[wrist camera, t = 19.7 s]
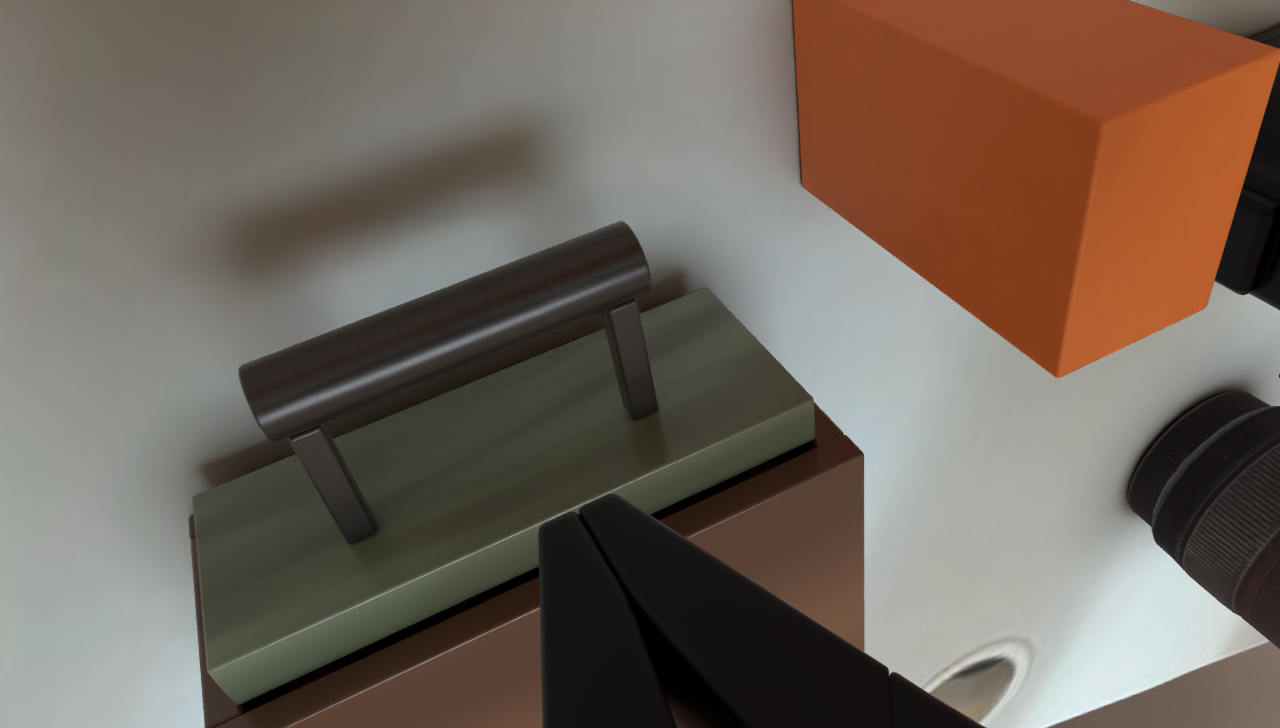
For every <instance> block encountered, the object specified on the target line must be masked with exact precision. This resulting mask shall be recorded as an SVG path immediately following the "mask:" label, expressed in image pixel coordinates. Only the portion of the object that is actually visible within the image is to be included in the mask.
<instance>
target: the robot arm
mask: <svg viewBox="0 0 1280 728" xmlns="http://www.w3.org/2000/svg"><path fill="white" fill-rule="evenodd" d="M1249 39H1250V40H1254V41H1257V42H1260V43H1263V44H1266V45H1269V46H1272V47H1275V48H1278V49H1280V26H1279V27H1277V28H1274V29H1272V30H1269V31H1267V32H1264V33H1262V34H1259V35H1257V36H1254V37H1252V38H1249ZM1214 281H1215V282H1217V283H1219V284H1221V285H1223V286H1225V287H1226V288H1228V289H1230V290H1232V291H1234V292H1235V293H1237V294H1240V295H1245V294H1248V293H1249V294H1251V295H1253V296H1255V297H1257V298H1258V299H1260V300H1262V301H1264V302H1266V303H1268V304H1269V305H1271V306H1273V307H1275V308H1277V309H1279V310H1280V63H1279V66H1278V69H1277V73H1276V76H1275V79H1274V83H1273V86H1272V89H1271V93H1270V96H1269V100H1268V103H1267V106H1266V110H1265V113H1264V116H1263V120H1262V123H1261V126H1260V130H1259V133H1258V136H1257V140H1256V143H1255V146H1254V150H1253V153H1252V156H1251V160H1250V163H1249V166H1248V170H1247V173H1246V177H1245V180H1244V183H1243V187H1242V190H1241V193H1240V197H1239V200H1238V203H1237V207H1236V210H1235V213H1234V217H1233V220H1232V223H1231V227H1230V230H1229V233H1228V237H1227V240H1226V243H1225V247H1224V250H1223V253H1222V257H1221V260H1220V264H1219V267H1218V270H1217V274H1216V277H1215V280H1214ZM1279 377H1280V374H1279ZM538 545H539V590H540V635H541V680H542V724H543V728H986V727H984V726H982V725H980V724H979V723H977V722H975V721H974V720H972V719H970V718H969V717H967V716H965V715H964V714H962V713H960V712H959V711H957V710H955V709H954V708H952V707H950V706H949V705H947V704H945V703H944V702H942V701H940V700H939V699H937V698H935V697H934V696H932V695H930V694H929V693H927V692H926V691H924V690H923V689H921V688H920V687H918V686H917V685H915V684H913V683H912V682H910V681H909V680H907V679H906V678H904V677H903V676H901V675H899V674H898V673H896V672H892V673H891V674H890V676H889V670H888V668H887V667H886V666H885V665H883V664H882V663H880V662H879V661H877V660H875V659H874V658H872V657H871V656H869V655H868V654H866V653H864V652H863V651H861V650H860V649H858V648H857V647H855V646H854V645H852V644H850V643H849V642H847V641H846V640H844V639H843V638H841V637H840V636H838V635H836V634H835V633H833V632H832V631H830V630H829V629H827V628H825V627H824V626H822V625H821V624H819V623H818V622H816V621H815V620H813V619H811V618H810V617H808V616H807V615H805V614H804V613H802V612H801V611H799V610H797V609H796V608H794V607H793V606H791V605H790V604H788V603H786V602H785V601H783V600H782V599H780V598H779V597H777V596H776V595H774V594H772V593H771V592H769V591H768V590H766V589H765V588H763V587H762V586H760V585H758V584H757V583H755V582H754V581H752V580H751V579H749V578H747V577H746V576H744V575H743V574H741V573H740V572H738V571H737V570H735V569H733V568H732V567H730V566H729V565H727V564H726V563H724V562H723V561H721V560H719V559H718V558H716V557H715V556H713V555H712V554H710V553H708V552H707V551H705V550H704V549H702V548H701V547H699V546H698V545H696V544H694V543H693V542H691V541H690V540H688V539H687V538H685V537H684V536H682V535H680V534H679V533H677V532H676V531H674V530H673V529H671V528H669V527H668V526H666V525H665V524H663V523H662V522H660V521H659V520H657V519H655V518H654V517H652V516H651V515H649V514H648V513H646V512H645V511H643V510H641V509H640V508H638V507H637V506H635V505H634V504H632V503H630V502H629V501H627V500H626V499H624V498H623V497H621V496H619V495H617V494H607V495H605V496H603V497H601V498H599V499H596V500H594V501H592V502H590V503H587V504H585V505H583V506H582V507H581V508H580V509H579V513H578V514H577V513H576V512H572V511H571V512H568V513H565V514H563V515H561V516H559V517H557V518H554V519H552V520H550V521H548V522H546V523H544V524H542V525H541V526H540V528H539V531H538Z"/></svg>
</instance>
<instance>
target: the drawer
mask: <svg viewBox="0 0 1280 728" xmlns="http://www.w3.org/2000/svg"><path fill="white" fill-rule="evenodd" d="M650 288H651V279H650V272H649V268H648V264H647V261H646V258H645V255H644V252H643V250H642V248H641V245H640V243H639V241H638V239H637V238H636V236H635V234H634V233H633V231H632V230H631V228H630V227H629V226H628V225H627V224H626V223H625V222H622V221H619V222H616V223H614V224H611V225H608V226H606V227H603V228H600V229H598V230H595V231H593V232H590V233H587V234H585V235H582V236H579V237H577V238H574V239H572V240H569V241H566V242H564V243H561V244H558V245H556V246H553V247H551V248H548V249H545V250H543V251H540V252H537V253H535V254H532V255H530V256H527V257H524V258H522V259H519V260H516V261H514V262H511V263H509V264H506V265H503V266H501V267H498V268H495V269H493V270H490V271H488V272H485V273H482V274H480V275H477V276H474V277H472V278H469V279H467V280H464V281H461V282H459V283H456V284H453V285H451V286H448V287H446V288H443V289H440V290H438V291H435V292H432V293H430V294H427V295H425V296H422V297H419V298H417V299H414V300H411V301H409V302H406V303H404V304H401V305H398V306H396V307H393V308H390V309H388V310H385V311H383V312H380V313H377V314H375V315H372V316H369V317H367V318H364V319H362V320H359V321H356V322H354V323H351V324H348V325H346V326H343V327H341V328H338V329H335V330H333V331H330V332H327V333H325V334H322V335H320V336H317V337H314V338H312V339H309V340H306V341H304V342H301V343H299V344H296V345H293V346H291V347H288V348H285V349H283V350H280V351H278V352H275V353H272V354H270V355H267V356H264V357H262V358H259V359H257V360H254V361H251V362H249V363H246V364H243V365H241V366H240V367H239V379H240V383H241V386H242V389H243V392H244V395H245V398H246V400H247V403H248V405H249V407H250V410H251V412H252V414H253V416H254V418H255V420H256V422H257V424H258V425H259V427H260V429H261V430H262V432H263V433H264V435H265V436H266V437H267V439H268V440H269V441H271V442H272V443H276V442H279V441H281V440H284V439H286V438H288V441H289V443H290V445H291V447H292V448H293V450H294V452H295V453H296V454H295V455H292V456H290V457H287V458H285V459H283V460H280V461H278V462H275V463H273V464H270V465H268V466H265V467H263V468H260V469H258V470H256V471H253V472H251V473H248V474H246V475H243V476H241V477H238V478H236V479H233V480H231V481H229V482H226V483H224V484H221V485H219V486H216V487H214V488H211V489H209V490H206V491H204V492H202V493H199V494H197V495H195V496H193V509H194V521H195V533H196V545H197V557H198V569H199V581H200V593H201V605H202V617H203V629H204V641H205V653H206V665H207V672H208V673H209V675H210V676H211V677H212V678H213V679H214V680H215V682H216V683H217V684H218V685H219V686H220V687H221V689H222V690H223V691H224V692H225V693H226V694H227V696H228V697H229V698H230V699H231V700H232V701H233V703H234V704H235V705H240V704H242V703H245V702H247V701H249V700H251V699H253V698H255V697H258V696H260V695H262V694H264V693H266V692H268V691H271V690H273V689H275V688H277V687H279V686H281V685H284V684H286V683H288V682H289V683H290V689H291V691H293V690H296V689H298V688H300V687H302V686H304V685H306V684H309V683H311V682H313V681H315V680H317V679H319V678H321V677H324V676H326V675H328V674H330V673H332V672H334V671H337V670H339V669H341V668H343V667H345V666H347V665H349V664H352V663H354V662H356V661H358V660H360V659H362V658H364V657H367V656H369V655H371V654H373V653H375V652H377V651H380V650H382V649H384V648H386V647H388V646H390V645H392V644H395V643H397V642H399V641H401V640H403V639H405V638H408V637H410V636H412V635H414V634H416V633H418V632H420V631H423V630H425V629H427V628H429V627H431V626H433V625H436V624H438V623H440V622H442V621H444V620H446V619H448V618H451V617H453V616H455V615H457V614H459V613H461V612H463V611H466V610H468V609H470V608H472V607H474V606H476V605H479V604H481V603H483V602H485V601H487V600H489V599H491V598H494V597H496V596H498V595H500V594H502V593H504V592H507V591H509V590H511V589H513V588H515V587H517V586H519V585H522V584H524V583H526V582H528V581H530V580H532V579H534V578H537V577H539V545H538V531H539V528H540V526H541V525H542V524H544V523H546V522H548V521H550V520H552V519H554V518H557V517H559V516H561V515H563V514H565V513H568V512H571V511H572V512H576V513H577V514H578V513H579V509H580V508H581V507H582V506H583V505H585V504H587V503H590V502H592V501H594V500H596V499H599V498H601V497H603V496H605V495H607V494H617V495H619V496H621V497H623V498H624V499H626V500H627V501H629V502H630V503H632V504H634V505H635V506H637V507H638V508H640V509H641V510H643V511H645V512H646V513H648V514H649V515H651V516H652V517H654V518H655V519H657V520H661V519H664V518H666V517H668V516H670V515H672V514H674V513H677V512H679V511H681V510H683V509H685V508H687V507H689V506H692V505H694V504H696V503H698V502H700V501H702V500H705V499H707V498H709V497H711V496H713V495H715V494H717V493H720V492H722V491H724V490H726V489H728V488H730V487H732V486H735V485H737V484H739V483H741V482H743V481H745V480H748V479H750V478H752V477H754V476H756V475H758V474H760V473H763V472H765V471H767V470H769V469H771V468H773V467H775V466H774V465H773V463H772V462H771V461H770V459H773V458H775V457H777V456H779V455H781V454H783V453H786V452H788V451H790V450H792V449H794V448H796V447H799V446H801V445H803V444H805V443H807V442H809V441H812V440H814V439H815V418H814V400H813V398H812V396H811V395H810V394H809V393H808V392H807V391H806V390H805V389H804V388H803V387H802V386H801V385H800V384H799V383H798V382H797V381H796V380H795V379H794V378H793V377H792V375H791V374H790V373H789V372H788V371H787V370H786V369H785V368H784V367H783V366H782V365H781V364H780V363H779V362H778V361H777V360H776V359H775V358H774V357H773V356H772V355H771V354H770V352H769V351H768V350H767V349H766V348H765V347H764V346H763V345H762V344H761V343H760V342H759V341H758V340H757V339H756V338H755V337H754V336H753V335H752V334H751V333H750V332H749V331H748V329H747V328H746V327H745V326H744V325H743V324H742V323H741V322H740V321H739V320H738V319H737V318H736V317H735V316H734V315H733V314H732V313H731V312H730V311H729V310H728V309H727V308H726V306H725V305H724V304H723V303H722V302H721V301H720V300H719V299H718V298H717V297H716V296H715V295H714V294H713V293H712V292H711V291H710V290H709V289H708V288H707V287H705V288H702V289H700V290H697V291H695V292H692V293H690V294H687V295H685V296H683V297H680V298H678V299H675V300H673V301H670V302H668V303H665V304H663V305H660V306H658V307H656V308H653V309H651V310H648V311H646V312H643V313H641V314H640V313H639V308H638V303H637V300H636V299H635V298H636V297H639V296H641V295H644V294H646V293H648V292H649V291H650ZM599 312H601V313H602V317H603V321H604V326H605V328H604V329H602V330H599V331H597V332H594V333H592V334H589V335H587V336H584V337H582V338H579V339H577V340H575V341H572V342H570V343H567V344H565V345H562V346H560V347H557V348H555V349H552V350H550V351H548V352H545V353H543V354H540V355H538V356H535V357H533V358H530V359H528V360H526V361H523V362H521V363H518V364H516V365H513V366H511V367H508V368H506V369H503V370H501V371H499V372H496V373H494V374H491V375H489V376H486V377H484V378H481V379H479V380H476V381H474V382H472V383H469V384H467V385H464V386H462V387H459V388H457V389H454V390H452V391H449V392H447V393H445V394H442V395H440V396H437V397H435V398H432V399H430V400H427V401H425V402H422V403H420V404H418V405H415V406H413V407H410V408H408V409H405V410H403V411H400V412H398V413H395V414H393V415H391V416H388V417H386V418H383V419H381V420H378V421H376V422H373V423H371V424H368V425H366V426H364V427H361V428H359V429H356V430H354V431H351V432H349V433H346V434H344V435H341V436H339V437H337V438H334V439H333V438H332V436H331V434H330V432H329V431H328V429H327V427H326V425H325V423H326V422H329V421H331V420H334V419H336V418H338V417H341V416H343V415H346V414H348V413H351V412H353V411H356V410H358V409H361V408H363V407H366V406H368V405H371V404H373V403H376V402H378V401H381V400H383V399H386V398H388V397H391V396H393V395H396V394H398V393H401V392H403V391H406V390H408V389H410V388H413V387H415V386H418V385H420V384H423V383H425V382H428V381H430V380H433V379H435V378H438V377H440V376H443V375H445V374H448V373H450V372H453V371H455V370H458V369H460V368H463V367H465V366H468V365H470V364H473V363H475V362H478V361H480V360H482V359H485V358H487V357H490V356H492V355H495V354H497V353H500V352H502V351H505V350H507V349H510V348H512V347H515V346H517V345H520V344H522V343H525V342H527V341H530V340H532V339H535V338H537V337H540V336H542V335H545V334H547V333H550V332H552V331H554V330H557V329H559V328H562V327H564V326H567V325H569V324H572V323H574V322H577V321H579V320H582V319H584V318H587V317H589V316H592V315H594V314H597V313H599Z"/></svg>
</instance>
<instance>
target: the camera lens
mask: <svg viewBox="0 0 1280 728" xmlns="http://www.w3.org/2000/svg"><path fill="white" fill-rule="evenodd" d="M1128 501H1129V504H1130V506H1131V508H1132V510H1133V511H1134V512H1135V513H1136V514H1137V515H1138V516H1140V517H1141V518H1142V519H1143V520H1144V521H1145V522H1146V523H1148V524H1149V525H1150V526H1151V527H1152V532H1153V537H1154V540H1155V542H1156V543H1157V544H1158V545H1159V546H1160V547H1161V548H1162V549H1163V550H1164V551H1165V552H1166V553H1168V554H1169V555H1170V556H1171V557H1172V558H1173V559H1174V560H1175V561H1176V562H1177V563H1178V564H1179V565H1180V566H1181V568H1182V569H1183V570H1184V571H1185V572H1186V573H1187V574H1188V575H1189V576H1190V577H1191V578H1192V579H1194V580H1195V581H1196V582H1197V583H1198V584H1199V585H1201V586H1202V587H1203V588H1204V589H1205V590H1206V591H1208V592H1209V593H1210V594H1211V595H1212V596H1213V597H1215V598H1216V599H1217V600H1218V601H1219V602H1220V603H1222V604H1223V605H1224V606H1226V607H1227V608H1228V609H1230V610H1231V611H1232V612H1233V613H1235V614H1237V615H1239V616H1241V617H1242V618H1243V619H1244V620H1245V621H1246V622H1248V623H1249V624H1250V625H1251V626H1252V627H1254V628H1255V629H1256V630H1257V631H1258V632H1260V633H1261V634H1262V635H1263V636H1265V637H1266V638H1267V639H1268V640H1269V641H1271V642H1272V643H1273V644H1274V645H1275V646H1277V647H1278V648H1279V649H1280V406H1270V405H1268V404H1266V403H1264V402H1263V401H1261V400H1259V399H1257V398H1256V397H1254V396H1252V395H1250V394H1249V393H1246V392H1242V391H1231V392H1226V393H1223V394H1220V395H1218V396H1215V397H1212V398H1210V399H1208V400H1206V401H1205V402H1203V403H1201V404H1199V405H1198V406H1196V407H1195V408H1193V409H1192V410H1191V411H1189V412H1188V413H1186V414H1185V415H1184V416H1182V417H1181V418H1180V419H1179V420H1177V421H1176V422H1175V423H1174V424H1173V425H1172V426H1171V427H1170V428H1169V429H1168V430H1167V431H1166V432H1165V433H1164V434H1163V435H1162V436H1161V437H1160V438H1159V439H1158V440H1157V441H1156V442H1155V444H1154V445H1153V446H1152V447H1151V449H1150V450H1149V451H1148V453H1147V454H1146V455H1145V457H1144V458H1143V460H1142V461H1141V462H1140V464H1139V466H1138V468H1137V470H1136V472H1135V474H1134V476H1133V478H1132V480H1131V484H1130V487H1129V493H1128Z"/></svg>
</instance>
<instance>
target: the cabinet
mask: <svg viewBox="0 0 1280 728" xmlns="http://www.w3.org/2000/svg"><path fill="white" fill-rule="evenodd" d="M814 418H815V439H814V440H812V441H809V442H807V443H805V444H803V445H801V446H799V447H796V448H794V449H792V450H790V451H788V452H786V453H783V454H781V455H779V456H777V457H775V458H773V459H770V461H771V462H772V463H773V465H774V466H775V467H773V468H771V469H769V470H767V471H765V472H763V473H760V474H758V475H756V476H754V477H752V478H750V479H748V480H745V481H743V482H741V483H739V484H737V485H735V486H732V487H730V488H728V489H726V490H724V491H722V492H720V493H717V494H715V495H713V496H711V497H709V498H707V499H705V500H702V501H700V502H698V503H696V504H694V505H692V506H689V507H687V508H685V509H683V510H681V511H679V512H677V513H674V514H672V515H670V516H668V517H666V518H664V519H661V520H659V521H660V522H662V523H663V524H665V525H666V526H668V527H669V528H671V529H673V530H674V531H676V532H677V533H679V534H680V535H682V536H684V537H685V538H687V539H688V540H690V541H691V542H693V543H694V544H696V545H698V546H699V547H701V548H702V549H704V550H705V551H707V552H708V553H710V554H712V555H713V556H715V557H716V558H718V559H719V560H721V561H723V562H724V563H726V564H727V565H729V566H730V567H732V568H733V569H735V570H737V571H738V572H740V573H741V574H743V575H744V576H746V577H747V578H749V579H751V580H752V581H754V582H755V583H757V584H758V585H760V586H762V587H763V588H765V589H766V590H768V591H769V592H771V593H772V594H774V595H776V596H777V597H779V598H780V599H782V600H783V601H785V602H786V603H788V604H790V605H791V606H793V607H794V608H796V609H797V610H799V611H801V612H802V613H804V614H805V615H807V616H808V617H810V618H811V619H813V620H815V621H816V622H818V623H819V624H821V625H822V626H824V627H825V628H827V629H829V630H830V631H832V632H833V633H835V634H836V635H838V636H840V637H841V638H843V639H844V640H846V641H847V642H849V643H850V644H852V645H854V646H855V647H857V648H858V649H860V650H861V651H863V652H864V454H863V452H862V451H861V450H860V449H859V448H858V447H857V446H856V445H855V444H854V443H853V442H852V441H851V439H850V438H849V437H848V436H847V435H844V434H843V432H842V431H841V430H840V429H839V428H838V426H837V425H836V424H835V423H834V422H833V421H832V420H831V419H830V418H829V417H828V416H827V415H826V414H825V413H824V412H823V411H822V410H821V409H820V408H819V407H818V405H817V404H816V403H815V402H814ZM189 532H190V539H191V553H192V566H193V579H194V592H195V605H196V618H197V631H198V644H199V657H200V670H201V683H202V696H203V709H204V722H205V728H543V724H542V680H541V635H540V590H539V577H537V578H534V579H532V580H530V581H528V582H526V583H524V584H522V585H519V586H517V587H515V588H513V589H511V590H509V591H507V592H504V593H502V594H500V595H498V596H496V597H494V598H491V599H489V600H487V601H485V602H483V603H481V604H479V605H476V606H474V607H472V608H470V609H468V610H466V611H463V612H461V613H459V614H457V615H455V616H453V617H451V618H448V619H446V620H444V621H442V622H440V623H438V624H436V625H433V626H431V627H429V628H427V629H425V630H423V631H420V632H418V633H416V634H414V635H412V636H410V637H408V638H405V639H403V640H401V641H399V642H397V643H395V644H392V645H390V646H388V647H386V648H384V649H382V650H380V651H377V652H375V653H373V654H371V655H369V656H367V657H364V658H362V659H360V660H358V661H356V662H354V663H352V664H349V665H347V666H345V667H343V668H341V669H339V670H337V671H334V672H332V673H330V674H328V675H326V676H324V677H321V678H319V679H317V680H315V681H313V682H311V683H309V684H306V685H304V686H302V687H300V688H298V689H296V690H293V691H291V689H290V683H289V682H288V683H286V684H284V685H281V686H279V687H277V688H275V689H273V690H271V691H268V692H266V693H264V694H262V695H260V696H258V697H255V698H253V699H251V700H249V701H247V702H245V703H242V704H240V705H235V704H234V703H233V701H232V700H231V699H230V698H229V697H228V696H227V694H226V693H225V692H224V691H223V690H222V689H221V687H220V686H219V685H218V684H217V683H216V682H215V680H214V679H213V678H212V677H211V676H210V675H209V673H208V672H207V665H206V653H205V641H204V629H203V617H202V605H201V593H200V581H199V569H198V557H197V545H196V533H195V521H194V516H192V517H190V518H189Z"/></svg>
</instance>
